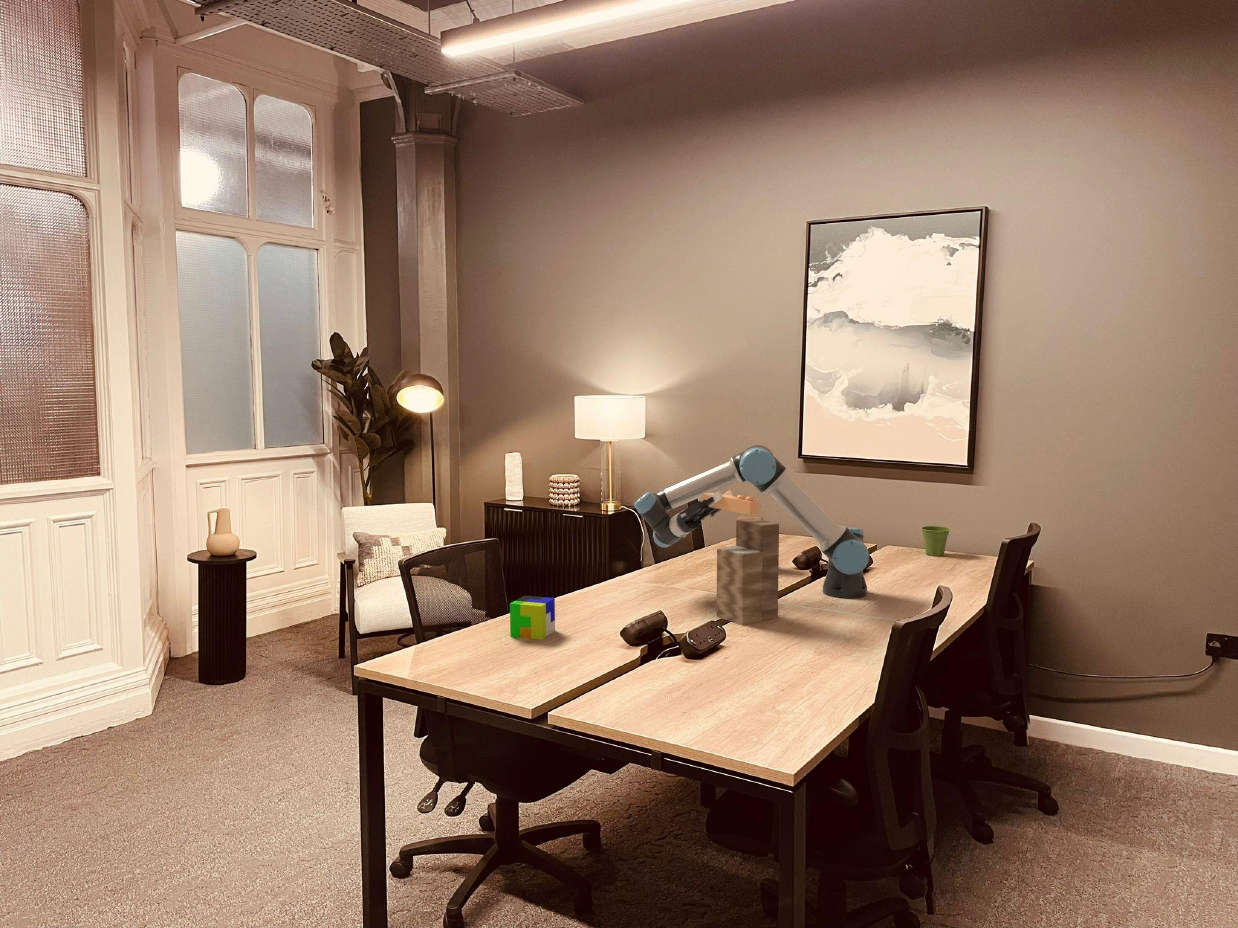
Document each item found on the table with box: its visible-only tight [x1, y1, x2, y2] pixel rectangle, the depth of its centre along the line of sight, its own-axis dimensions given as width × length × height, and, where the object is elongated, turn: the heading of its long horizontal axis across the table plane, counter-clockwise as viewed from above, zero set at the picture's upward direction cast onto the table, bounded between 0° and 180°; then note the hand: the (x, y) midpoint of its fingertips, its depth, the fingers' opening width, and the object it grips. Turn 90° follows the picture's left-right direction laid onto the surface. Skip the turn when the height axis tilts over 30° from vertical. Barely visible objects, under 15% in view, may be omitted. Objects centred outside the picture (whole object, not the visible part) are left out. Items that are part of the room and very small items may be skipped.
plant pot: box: [920, 525, 951, 557], centre depth 387 cm, size 12×12×11 cm
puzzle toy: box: [509, 595, 556, 641], centre depth 275 cm, size 10×10×10 cm
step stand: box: [716, 518, 780, 626], centre depth 291 cm, size 12×15×30 cm
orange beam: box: [702, 492, 761, 516], centre depth 290 cm, size 22×4×5 cm, turn 35°
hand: (726, 494), depth 291 cm, fingers closed on orange beam, 4 cm apart
